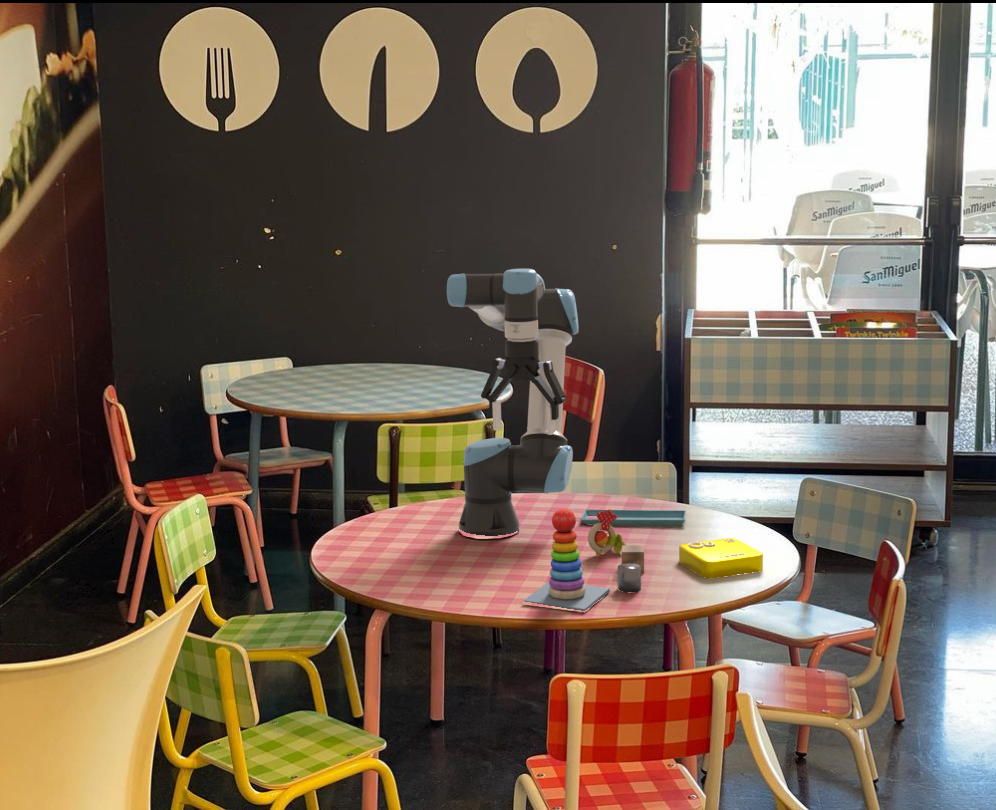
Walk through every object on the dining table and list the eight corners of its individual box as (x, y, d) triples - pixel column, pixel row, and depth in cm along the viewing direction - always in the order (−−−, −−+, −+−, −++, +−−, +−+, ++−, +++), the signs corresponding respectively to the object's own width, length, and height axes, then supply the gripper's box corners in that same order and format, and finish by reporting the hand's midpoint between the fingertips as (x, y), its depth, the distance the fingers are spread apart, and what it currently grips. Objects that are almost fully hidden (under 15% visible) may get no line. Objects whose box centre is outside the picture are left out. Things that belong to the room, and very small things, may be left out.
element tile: (706, 581, 294) (706, 560, 293) (675, 562, 308) (675, 542, 307) (766, 572, 299) (766, 552, 298) (733, 554, 313) (733, 534, 312)
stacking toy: (586, 588, 287) (585, 504, 284) (585, 601, 279) (583, 514, 276) (549, 588, 288) (547, 504, 284) (547, 600, 280) (545, 514, 277)
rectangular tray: (580, 527, 339) (580, 517, 338) (584, 517, 347) (584, 508, 347) (685, 529, 334) (684, 519, 334) (686, 519, 343) (686, 510, 342)
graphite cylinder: (614, 591, 288) (614, 569, 287) (622, 584, 293) (622, 562, 292) (636, 594, 286) (635, 571, 285) (644, 587, 290) (644, 565, 289)
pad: (523, 605, 281) (523, 600, 281) (550, 584, 293) (550, 580, 293) (584, 613, 275) (584, 609, 275) (609, 592, 287) (609, 588, 287)
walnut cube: (621, 573, 300) (621, 551, 299) (622, 566, 305) (622, 545, 304) (644, 573, 300) (643, 552, 299) (644, 566, 305) (644, 545, 304)
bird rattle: (607, 567, 311) (635, 545, 315) (591, 528, 307) (619, 507, 311) (591, 560, 316) (618, 539, 320) (575, 522, 312) (603, 501, 316)
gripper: (464, 338, 300) (467, 430, 304) (566, 344, 289) (568, 439, 293) (479, 333, 306) (482, 423, 311) (579, 338, 295) (581, 431, 300)
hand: (524, 431), depth 302 cm, fingers open, 13 cm apart
